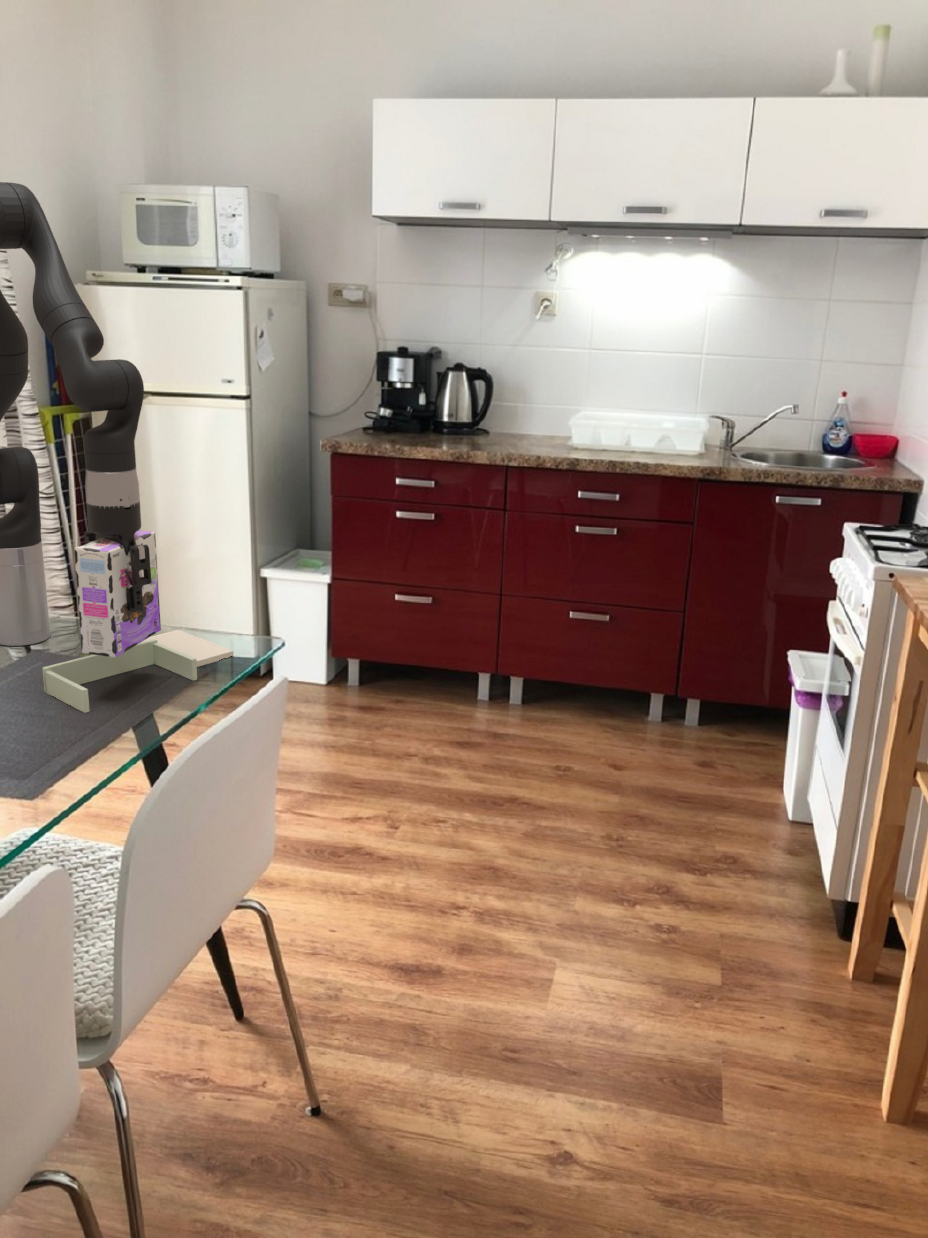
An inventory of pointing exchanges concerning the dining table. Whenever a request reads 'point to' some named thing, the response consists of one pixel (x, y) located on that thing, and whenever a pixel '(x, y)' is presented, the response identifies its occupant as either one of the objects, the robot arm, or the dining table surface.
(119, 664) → the green u-shaped frame
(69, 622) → the dining table surface
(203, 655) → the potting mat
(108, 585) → the candy box
